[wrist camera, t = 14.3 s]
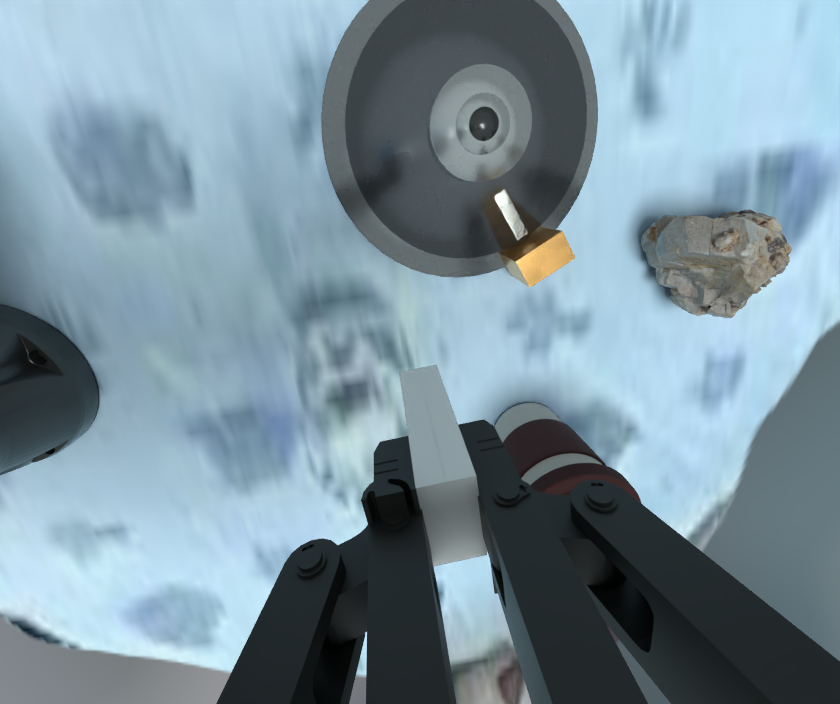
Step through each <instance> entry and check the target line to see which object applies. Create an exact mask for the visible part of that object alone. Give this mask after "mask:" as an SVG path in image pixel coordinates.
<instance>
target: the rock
mask: <svg viewBox="0 0 840 704" xmlns="http://www.w3.org/2000/svg"><path fill="white" fill-rule="evenodd" d="M781 230H782V226H781V224H780V223H779V222H778V221H777V220H776V219H775V217H771V216H767V215H765V214H760V213H758V214H757V213H755V212H754V211H752V210H743V211H740V212H728V213H723V214H722V215H721V216H720V217H719V218H715V219H713V218H709V217H706V216H680V217H677V216H669V215H666V216H663V217H661V218H660V219H658V220H657V221H656V222H654V223H652V225H651V226H650V227H649V228H648V229H647V230H646V231H645V232H644V234H643V236H642V239H641V246H642V248H643V252H645V253H646V256H647V259H648V264H649V265H650V266H652V267H654V268H655V269H656V279H657V281H658V283H659V285H662V286H665V287H669V288H670V291H671V294H670V298H671V300H672V302H673V303H675V304H676V305H677V306H679V307H681V308H682V309H684V310H685V311H688V312H689V313H691V314H694V315H697V316H699V315H702V314H711V315H713V316H717V317H724V318H731V317H733V316H734V315H735V314H736V312H737V311H738V310H739V309H741V308H743V307H744V306H745V305H746V303H747V300H748V298H749V297H750V296H751V295H752V294H753V293H758V292H759V291H760V290H761V288H760V287H766V286H767V284H769V283H770V282H772V281H771V280H770V278H772V277H773V276H774V277H776V275H777V274H780V273H782V272H783V271H784V270H785V267H786V266H787V265H788V263H789V262H790V261H789V256H788V255H789V254H790V252H791V250H792V248H791V247H790V245H789V244H788V243H786V242H787V241H786V238H785V237H784V236H783V235H782V234H781Z"/></svg>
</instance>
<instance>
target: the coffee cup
mask: <svg viewBox="0 0 840 704" xmlns="http://www.w3.org/2000/svg"><path fill="white" fill-rule="evenodd" d="M495 429H496V431H497V433H498V435H499V437H500V439H501V441H502V443H503V445H504V447H505V448H506V450H507V452H508V454H509V456H510V458H511V460H512V462H513V464H514V466H515V468H516V470H517V472H518V474H519V476H520V478H521V479H522V480H523V481H525V482H527V483H528V484H529V485H530V486H531V487H532V488H533V489H534V490H536V491H539V492H542V493H546V494H554V495H570V493H571V491H572V489H573V487H574V486H576V485H577V484H579V483H580V482H583V481H587V480H603V481H606V482H610V483H613V484H615V485H616V486H618V487H620V488H622V489H623V490H624V491H626V492H627V493H628V494H629V495H631V496H632V497H633V498H634V499H636V500H637V501H638V502H640V503H641V501H640V498H639V496H638V494H637V492H636V491H635V489H634V488H633V487H632V486H631V485H630V483H629V482H628V481H627V480H626V479H625V478H624V477H623V475H621V474H620V473H619V472H617V471H616V470H614V469H612V468H610V467H607V466H606V465H605V463H604V462H603V461H602V460H601V459H600V458H599V457H598V456H597V455H596V454H595V452H594V451H593V450H592V449H591V448H590V447H589V446H588V445H587V444H586V443H585V442H584V441H583V440H582V439H581V438H580V437H579V436H578V435H577V434H576V433H575V432H574V431H573V430H572V429H571V428H570V427H569V426H568V425H566V424H565V423H563V422H562V421H561V420H560V419H559V418H558V417H557V416H556V415H555V414H554V412H552V411H551V410H550V409H549V408H547V407H546V406H543V405H541V404H537V403H523V404H519V405H516V406H514V407H512V408H510V409H508V410H507V411H506V412H504V413H503V414H502V415H501V417H500V418H499V419H498V421H497V423H496V424H495Z"/></svg>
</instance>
